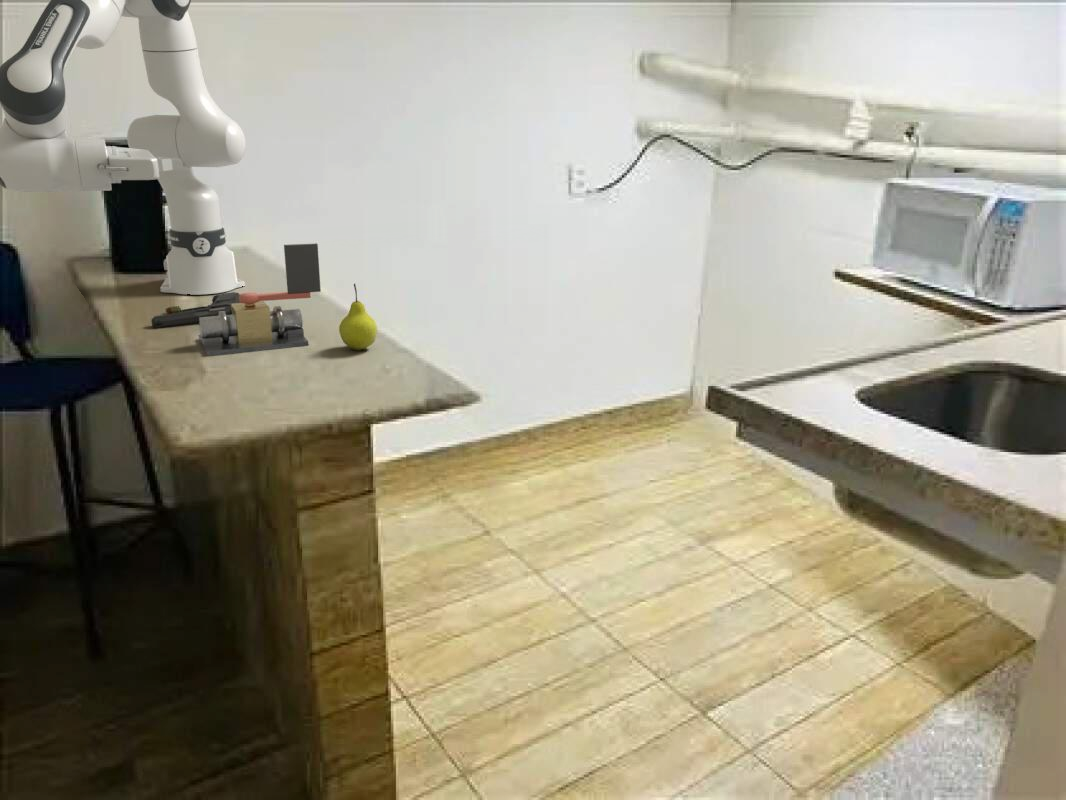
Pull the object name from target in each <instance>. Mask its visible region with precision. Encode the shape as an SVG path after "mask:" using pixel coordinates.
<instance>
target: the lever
mask: <svg viewBox="0 0 1066 800" xmlns="http://www.w3.org/2000/svg"><path fill="white" fill-rule="evenodd" d="M318 245H319V244H318V243H317V242H316V243H296V244H295V243H294V244H293V243H292V244H291V243H290V244H283V250H284V251H283V252H284V264H285V277H286V278H285V279H286V289H287V291H286V292H285V291H284V292H283V291H282V292H269V293H267V292H266V293H257V292H246V293H245V292H244V293H239V294H240V295H239V302H240V303H246V304H248V303H257V302H259V301H264V302H265V301H266V302H267V301H279V300H280V301H281V300H282V301H283V300H297V299H310V298H311V297H312V296H311V293H319V292H320V293H321V291H322V290H321V277H320V276H321V275H320V262H319V261H320V260H319V248H318V247H319V246H318Z"/></svg>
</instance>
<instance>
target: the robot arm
mask: <svg viewBox="0 0 1066 800" xmlns="http://www.w3.org/2000/svg"><path fill="white" fill-rule="evenodd" d="M191 3H192V0H49V1H48V4H47V5H46V7H45V8H44V9H43V11H42V13H41V14H40V17H39V18H38V19H37V22H36V23H35V24H34V27H33V29H32V30H31V32H30V34H29V35H28V38H27V39H26V41H25V42H24V44H23V46H22V47H21V48H20V49H19V50H18V51H17V52H16V53H15V54H14V55H13V56H11V57H9V59H7V60H6V61H4V62H3V63H2V64H1V65H0V105H1V107H2V111H3V114H4V117H3V122H2V125H1V127H0V186H1V187H2V188H4V189H6V190H10V191H15V192H21V193H22V192H24V193H25V192H26V193H56V192H60V191H64V190H71V191H75V192H77V191H78V192H103V191H104V192H105V191H109V192H110V191H112V190H113V189H112V184H122V181H151V180H153V181H154V180H157V181H158V183H159V184H160V186H161V188H162V191H163V193H164V196H165V199H166V205H167V208H168V209H167V210H168V216H169V222H170V229H169V239H170V240H169V241H170V245H171V246H172V247H171V249H170V250H169V252H168V253H167V255H166V256H165V257H166V258H165V259H163V268H164V271H166V272H165V279H164V281H163V282H162V284H161V286H160V288H159V289H160V293H169V294H178V295H187V294H190V296H191V295H193V296H194V295H195V296H196V295H201V296H202V295H212V294H221V293H225V292H226V293H227V292H230V291H232V290H235V289H238V288H242V286H243V287H245V286H246V282H245V281H244V280H243V279H240V278H238V277H237V268H236V262H235V256H234V251H232V250H231V249H229V247H227V246H226V242H227V241H226V236H227V235H226V232H225V228H224V227H223V224H222V223H223V222H222V215H221V214H222V213H221V204H220V197H219V194H218V193H217V192H216V191H215V190H214V188H212V187H211V186H209V185H208V184H205V183H204V182H202V181H200V180H199V179H198V177H197V175H196V174H195V173H194V171H193V168H192V167H195V168H222V167H226V166H227V167H228V166H233V165H238V164H239V162H241V160H242V159H243V158H244V156H245V152H246V149H247V141H246V136H245V134H244V130H243V129H242V128H241V126H240V125H239V124H238V122H236V121H235V120H234V119H232V118H231V117H229V116H228V115H227V114H226V113H225V112H224V111H223V110H222V109H221V108H220V106H219V105H218V104H217V103H216V102H215V100H214V99H213V97H212V96H211V94H210V92H209V89H208V88H207V84H206V82H205V78H204V74H203V69H202V66H201V65H202V64H201V60H200V55H199V49H198V42H197V37H196V33H195V30H194V25H193V23H192V20H191V16H190V14H189V8H190V5H191ZM121 17H125V18H126V17H127V18H134V19H135V18H138V30H139V32H138V33H139V38H140V46H141V50H142V55H143V61H144V65H145V70H146V76H147V81H148V84H149V86H150V88H151V90H153V92H154V93H155V94H156V95H158V96H159V97H160V98H163V99H165V100H167V101H169V103H171V104H172V106H174V108H175V109H176V110H177V112H178V113H179V115H176V114H175V115H173V114H153V115H152V114H151V115H148V116H143V117H142V116H141V117H138V118H136V119H133V121H132V122H131V123H130V125H129V126H128V130H127V134H126V137H127V139H126V141H127V145H128V147H121V146H116V145H112V146H111V145H106V140H105V138H70V136H71V131H72V130H71V129H72V127H71V121H70V115H69V114H70V113H69V111H68V103H67V99H66V85H65V84H66V83H65V79H64V72H65V71H64V70H65V68H66V66H67V65H68V63H69V61H70V58H71V56H72V55H73V52H74V50H75V48H79V49H84V50H95V49H100V48H102V47H105V45H107V43H108V41H110V40H111V37H112V36H113V35H114V33H115V31H116V29H117V27H118V24H119V22H120V20H121Z"/></svg>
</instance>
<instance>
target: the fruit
mask: <svg viewBox="0 0 1066 800" xmlns="http://www.w3.org/2000/svg"><path fill="white" fill-rule="evenodd" d="M353 288H354V291H355V301H352V303H351V304H350V308H349V311H348V314H347V315H346V316H345V317H344V318H343V319H342V320H341V322H340V324H339V326H338V331H339V335H340V338H341V340H342V342H343V344H345V345H346V346H347V347H348V348H350V349H351V350H353V351H354V350H355V351H362V349H363V350H365V349H367V348H368V347H370V346H372V345H373V344H374V343H375V341H376V339H377V332H378V327H377V323H376V321H375V319H373V318H372V316H370V314H368V313H367V311H366V309H365V305H364V304H363V303H362V301H358V295H357V294H358V293H357V292H358V291H357V287H356V283H353Z"/></svg>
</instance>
